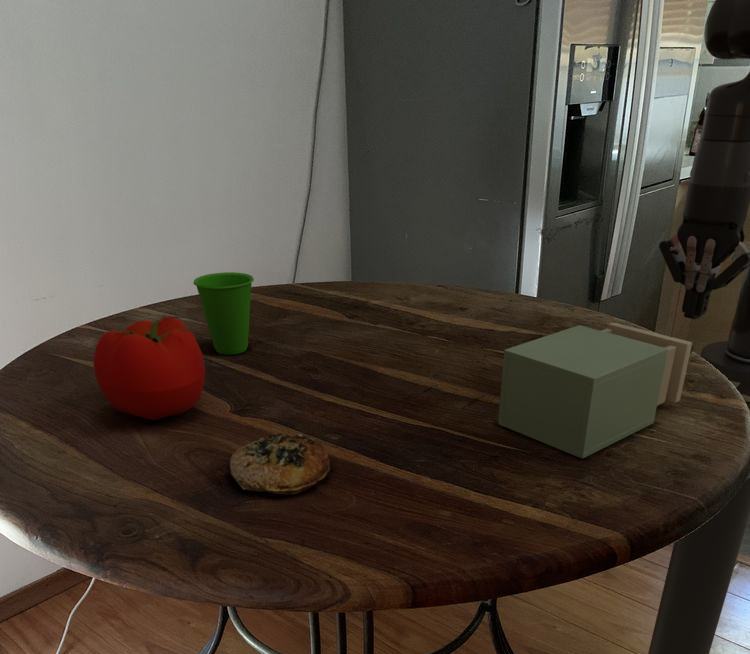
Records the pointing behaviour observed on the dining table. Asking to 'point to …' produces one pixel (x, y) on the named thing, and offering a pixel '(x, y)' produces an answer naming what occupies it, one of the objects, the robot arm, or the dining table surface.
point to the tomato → (150, 368)
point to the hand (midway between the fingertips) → (692, 317)
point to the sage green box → (580, 388)
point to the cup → (226, 309)
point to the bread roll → (280, 464)
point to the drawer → (674, 360)
